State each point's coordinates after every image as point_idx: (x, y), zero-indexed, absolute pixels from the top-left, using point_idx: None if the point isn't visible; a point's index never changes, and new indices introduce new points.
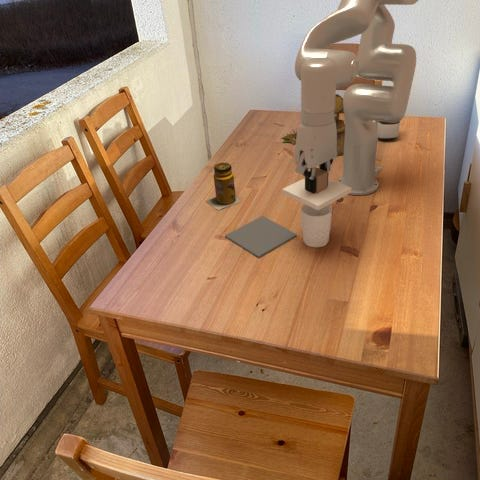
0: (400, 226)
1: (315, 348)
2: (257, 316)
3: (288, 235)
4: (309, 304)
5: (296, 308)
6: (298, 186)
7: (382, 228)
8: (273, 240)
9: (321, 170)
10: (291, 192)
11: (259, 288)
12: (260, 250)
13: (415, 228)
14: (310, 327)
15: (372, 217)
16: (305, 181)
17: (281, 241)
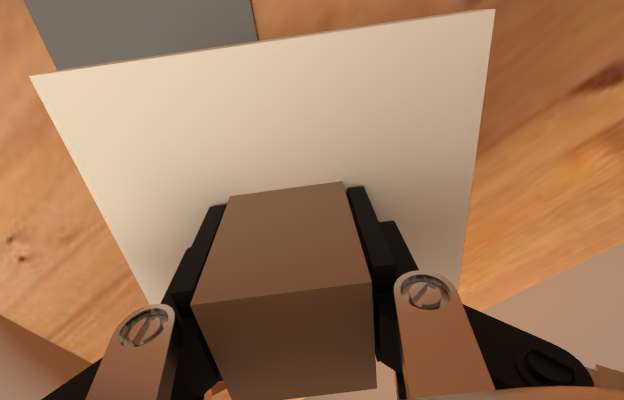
0: (535, 209)
1: (96, 361)
2: (2, 267)
3: (224, 30)
4: (135, 293)
5: (102, 289)
6: (193, 132)
7: (496, 188)
8: (153, 20)
9: (354, 350)
10: (92, 177)
11: (30, 197)
12: (77, 47)
13: (547, 236)
14: (108, 331)
15: (539, 126)
16: (169, 288)
17: (180, 48)
